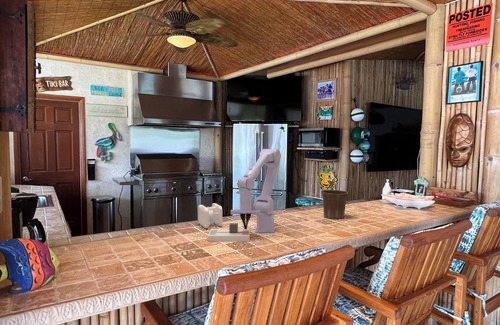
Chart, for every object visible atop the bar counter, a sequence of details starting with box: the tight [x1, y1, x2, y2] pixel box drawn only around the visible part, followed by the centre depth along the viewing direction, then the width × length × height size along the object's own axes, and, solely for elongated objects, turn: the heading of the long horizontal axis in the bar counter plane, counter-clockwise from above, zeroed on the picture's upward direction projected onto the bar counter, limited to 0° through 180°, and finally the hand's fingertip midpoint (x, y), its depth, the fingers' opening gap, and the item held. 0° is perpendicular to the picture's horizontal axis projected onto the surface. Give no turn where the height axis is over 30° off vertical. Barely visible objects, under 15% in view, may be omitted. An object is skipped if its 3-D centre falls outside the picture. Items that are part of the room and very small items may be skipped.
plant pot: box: [321, 189, 349, 220], centre depth 197 cm, size 16×16×16 cm
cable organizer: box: [197, 202, 223, 229], centre depth 178 cm, size 15×11×12 cm
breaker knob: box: [228, 222, 239, 233], centre depth 156 cm, size 4×3×4 cm
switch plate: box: [207, 228, 251, 242], centre depth 156 cm, size 20×12×2 cm, turn 89°
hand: (245, 228), depth 155 cm, fingers closed
